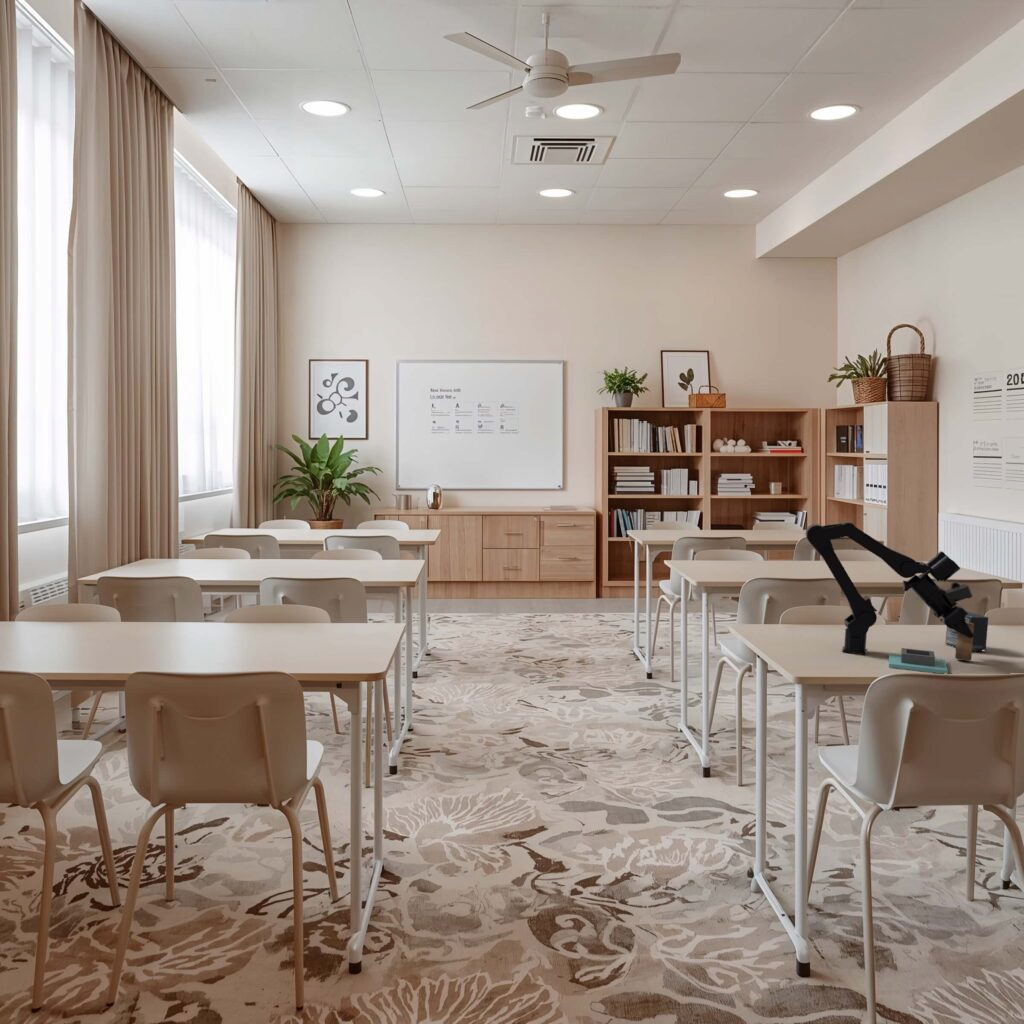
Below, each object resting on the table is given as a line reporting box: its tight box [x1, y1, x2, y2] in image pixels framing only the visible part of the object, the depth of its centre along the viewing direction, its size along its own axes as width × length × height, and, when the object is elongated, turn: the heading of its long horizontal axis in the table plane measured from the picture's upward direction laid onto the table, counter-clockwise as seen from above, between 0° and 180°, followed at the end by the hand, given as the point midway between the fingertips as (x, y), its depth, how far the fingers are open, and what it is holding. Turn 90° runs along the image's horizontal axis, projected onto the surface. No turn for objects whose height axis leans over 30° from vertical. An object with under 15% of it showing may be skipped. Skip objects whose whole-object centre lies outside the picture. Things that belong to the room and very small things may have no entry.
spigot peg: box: [954, 622, 974, 661], centre depth 248 cm, size 4×4×10 cm
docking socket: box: [888, 647, 949, 674], centre depth 241 cm, size 14×14×4 cm
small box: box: [944, 611, 989, 651], centre depth 265 cm, size 11×6×10 cm, turn 9°
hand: (970, 635), depth 247 cm, fingers closed on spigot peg, 4 cm apart
